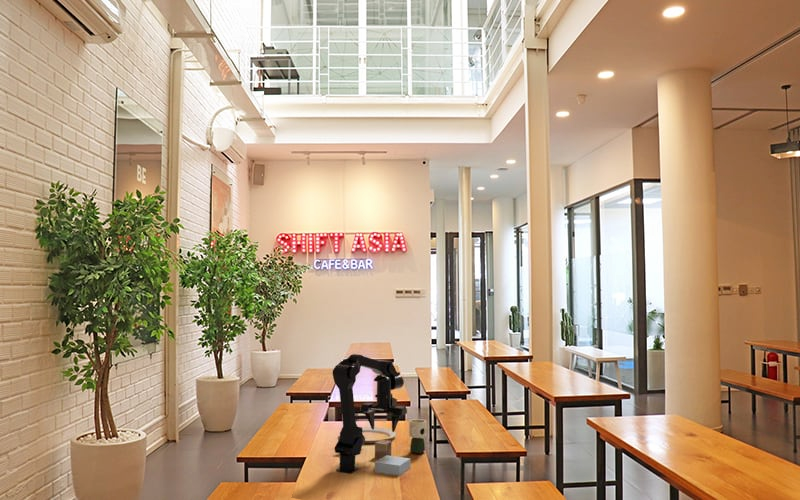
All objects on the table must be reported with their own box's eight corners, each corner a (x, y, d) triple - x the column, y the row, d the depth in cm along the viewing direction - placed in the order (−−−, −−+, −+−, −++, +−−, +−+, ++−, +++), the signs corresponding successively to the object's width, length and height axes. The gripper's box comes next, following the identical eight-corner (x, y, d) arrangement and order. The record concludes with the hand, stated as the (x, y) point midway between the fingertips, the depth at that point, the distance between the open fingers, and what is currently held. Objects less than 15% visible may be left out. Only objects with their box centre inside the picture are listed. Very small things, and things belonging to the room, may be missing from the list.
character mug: (420, 457, 251) (420, 424, 251) (404, 454, 254) (404, 422, 254) (430, 450, 260) (430, 419, 261) (415, 448, 263) (415, 417, 264)
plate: (330, 442, 273) (330, 437, 273) (352, 429, 297) (352, 424, 297) (385, 447, 265) (385, 442, 266) (402, 433, 290) (403, 429, 290)
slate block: (399, 476, 226) (399, 465, 227) (374, 472, 231) (375, 461, 231) (410, 469, 236) (410, 458, 236) (386, 465, 240) (386, 455, 240)
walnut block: (385, 459, 247) (386, 444, 247) (374, 457, 249) (374, 442, 249) (391, 456, 252) (391, 441, 252) (380, 454, 254) (380, 439, 254)
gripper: (412, 390, 255) (412, 429, 254) (372, 386, 263) (371, 424, 262) (401, 394, 245) (400, 434, 244) (359, 390, 253) (359, 429, 252)
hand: (383, 430), depth 251 cm, fingers open, 9 cm apart
